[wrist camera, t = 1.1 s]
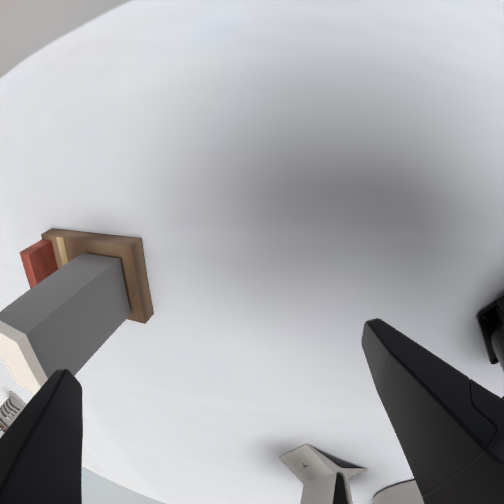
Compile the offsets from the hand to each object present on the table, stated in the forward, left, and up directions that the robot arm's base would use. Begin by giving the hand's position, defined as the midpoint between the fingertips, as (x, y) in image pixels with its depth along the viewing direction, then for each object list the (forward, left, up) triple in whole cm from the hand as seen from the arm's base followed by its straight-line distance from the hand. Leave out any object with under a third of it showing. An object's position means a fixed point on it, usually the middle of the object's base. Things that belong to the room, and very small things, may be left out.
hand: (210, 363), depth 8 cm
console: (+6, +16, -13) cm, 21 cm away
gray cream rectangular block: (+4, +14, -11) cm, 19 cm away
